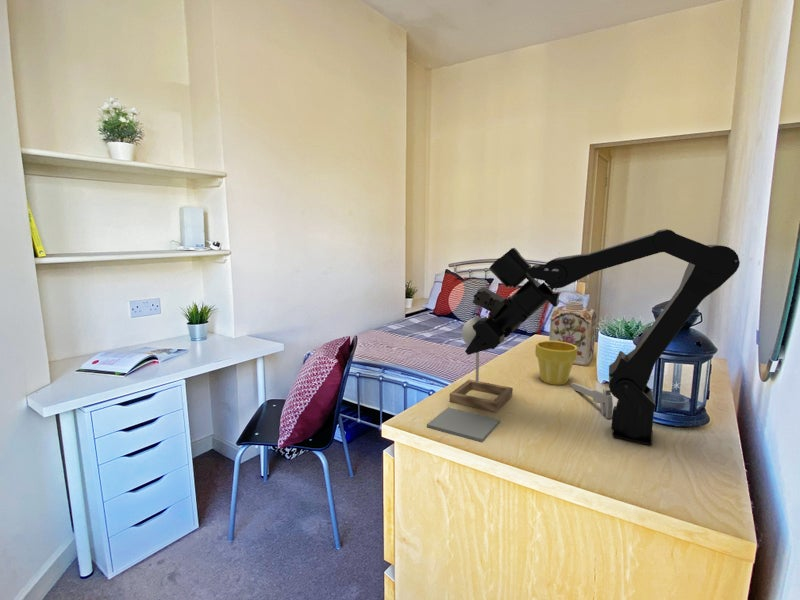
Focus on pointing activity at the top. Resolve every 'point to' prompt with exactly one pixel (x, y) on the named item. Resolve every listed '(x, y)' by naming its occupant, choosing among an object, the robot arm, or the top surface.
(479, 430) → the mat
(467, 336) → the lollipop
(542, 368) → the plant pot
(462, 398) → the brown wooden square frame
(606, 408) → the caliper
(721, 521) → the top surface
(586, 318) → the decorative jar
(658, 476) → the top surface
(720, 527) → the top surface
